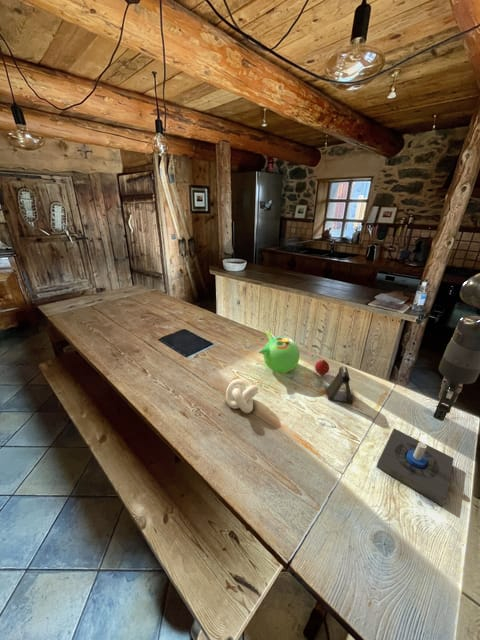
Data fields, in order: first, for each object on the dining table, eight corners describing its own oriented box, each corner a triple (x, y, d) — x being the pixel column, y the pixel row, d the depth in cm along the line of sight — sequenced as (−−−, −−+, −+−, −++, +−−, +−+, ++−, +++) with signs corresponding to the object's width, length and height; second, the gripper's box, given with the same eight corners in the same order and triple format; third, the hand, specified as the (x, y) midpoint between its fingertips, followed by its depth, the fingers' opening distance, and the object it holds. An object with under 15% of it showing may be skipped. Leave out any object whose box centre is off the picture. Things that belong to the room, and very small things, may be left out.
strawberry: (311, 371, 118) (314, 355, 114) (323, 369, 119) (326, 354, 115) (317, 379, 113) (320, 363, 109) (330, 377, 114) (333, 362, 110)
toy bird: (296, 382, 111) (300, 352, 104) (256, 375, 114) (258, 346, 108) (299, 359, 126) (302, 331, 120) (264, 353, 130) (265, 327, 124)
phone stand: (350, 393, 105) (356, 368, 100) (352, 403, 100) (359, 377, 95) (326, 389, 107) (331, 364, 102) (327, 399, 102) (333, 374, 97)
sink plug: (415, 457, 80) (424, 437, 76) (427, 472, 76) (437, 451, 72) (400, 458, 79) (408, 438, 76) (411, 473, 75) (420, 453, 71)
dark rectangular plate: (391, 433, 88) (393, 428, 87) (450, 463, 78) (453, 458, 77) (376, 466, 77) (378, 460, 76) (442, 506, 67) (445, 500, 66)
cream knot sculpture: (218, 409, 96) (218, 390, 92) (234, 390, 106) (234, 371, 102) (247, 420, 92) (248, 401, 88) (260, 399, 101) (261, 380, 97)
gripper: (481, 379, 57) (454, 433, 64) (484, 352, 66) (461, 402, 73) (439, 365, 61) (418, 417, 68) (448, 342, 71) (429, 389, 78)
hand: (440, 409), depth 71 cm, fingers open, 8 cm apart
